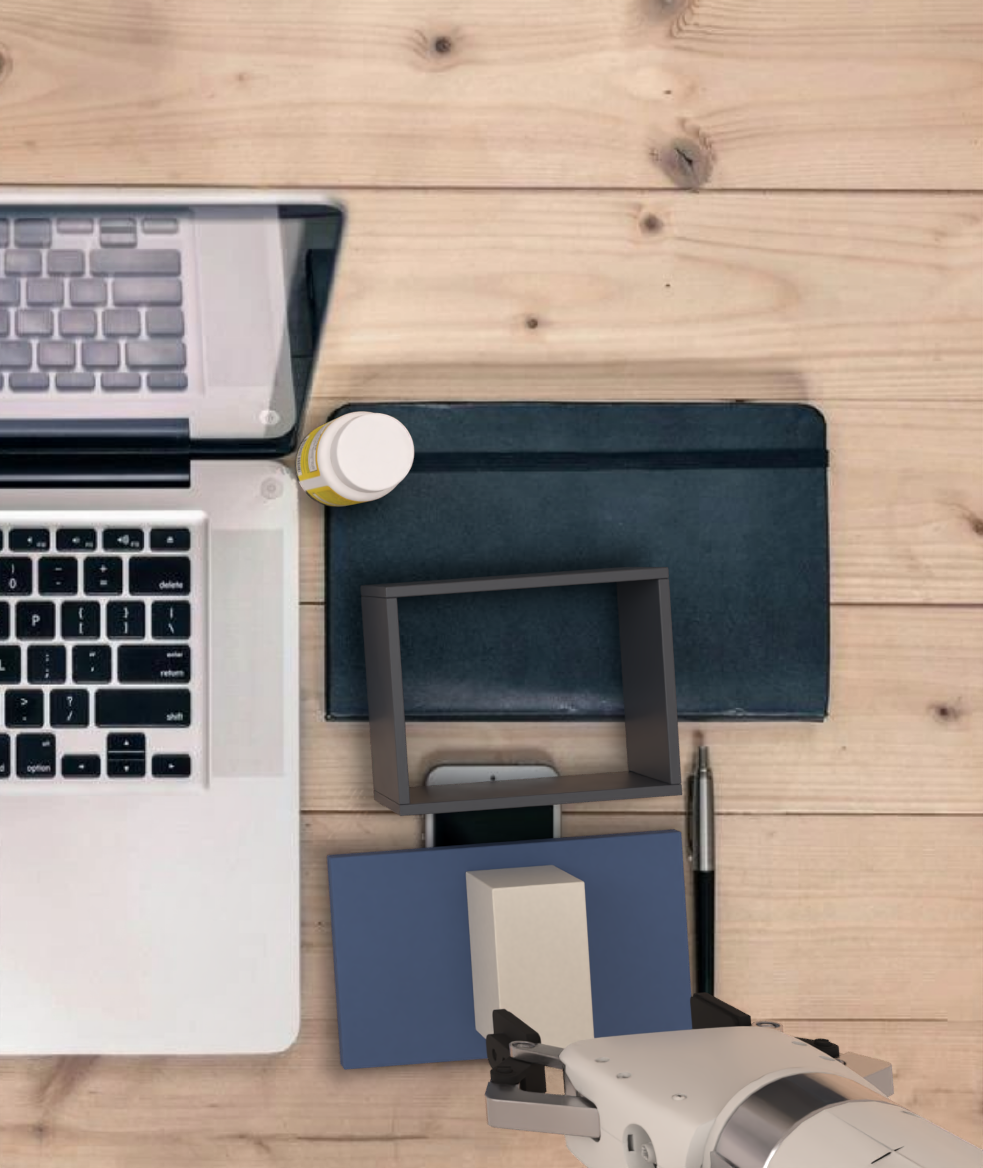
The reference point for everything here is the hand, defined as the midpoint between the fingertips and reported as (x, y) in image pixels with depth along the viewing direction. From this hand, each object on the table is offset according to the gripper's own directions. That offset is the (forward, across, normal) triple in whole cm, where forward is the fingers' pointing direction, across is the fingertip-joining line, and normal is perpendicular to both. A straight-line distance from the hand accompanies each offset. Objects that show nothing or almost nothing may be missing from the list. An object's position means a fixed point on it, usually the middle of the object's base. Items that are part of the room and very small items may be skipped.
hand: (599, 1032), depth 64 cm
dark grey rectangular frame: (+12, +1, +16) cm, 20 cm away
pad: (+12, 0, +1) cm, 12 cm away
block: (+11, 0, +1) cm, 11 cm away
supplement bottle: (+12, -8, +29) cm, 32 cm away
